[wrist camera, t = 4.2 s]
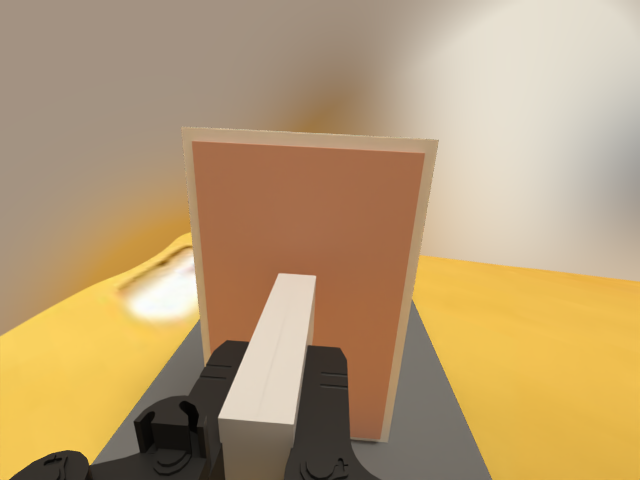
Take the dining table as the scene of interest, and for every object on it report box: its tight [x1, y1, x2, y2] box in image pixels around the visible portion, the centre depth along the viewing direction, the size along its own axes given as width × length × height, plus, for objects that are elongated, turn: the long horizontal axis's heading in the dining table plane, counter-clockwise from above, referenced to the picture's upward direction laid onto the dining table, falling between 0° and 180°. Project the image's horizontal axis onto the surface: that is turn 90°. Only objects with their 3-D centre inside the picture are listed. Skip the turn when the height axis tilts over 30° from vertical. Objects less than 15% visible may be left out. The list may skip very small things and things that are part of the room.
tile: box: [181, 127, 439, 443], centre depth 16 cm, size 10×3×16 cm, turn 87°
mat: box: [91, 300, 492, 480], centre depth 26 cm, size 20×26×1 cm
